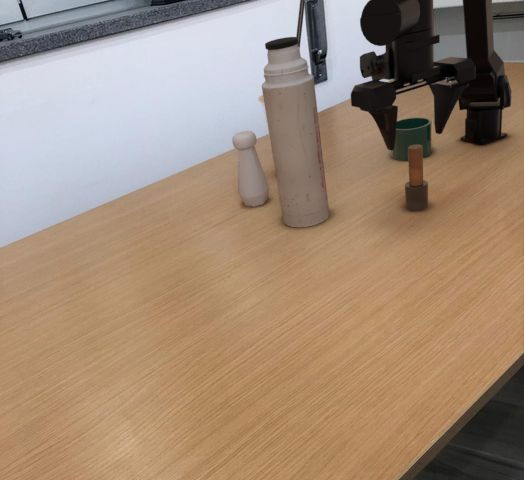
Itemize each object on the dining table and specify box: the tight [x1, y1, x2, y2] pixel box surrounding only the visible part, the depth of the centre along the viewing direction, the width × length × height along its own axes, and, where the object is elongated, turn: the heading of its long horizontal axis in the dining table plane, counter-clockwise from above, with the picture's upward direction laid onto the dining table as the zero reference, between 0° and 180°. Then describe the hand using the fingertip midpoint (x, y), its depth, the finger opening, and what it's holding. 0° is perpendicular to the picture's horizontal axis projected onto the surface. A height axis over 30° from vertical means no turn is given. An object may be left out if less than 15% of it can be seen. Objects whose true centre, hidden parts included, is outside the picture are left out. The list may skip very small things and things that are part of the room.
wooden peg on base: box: [404, 144, 429, 212], centre depth 97 cm, size 4×4×10 cm
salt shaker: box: [231, 130, 270, 208], centre depth 110 cm, size 6×6×13 cm
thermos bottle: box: [261, 36, 330, 228], centre depth 96 cm, size 8×8×28 cm
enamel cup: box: [390, 116, 433, 162], centre depth 119 cm, size 8×8×6 cm
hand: (415, 141), depth 93 cm, fingers open, 9 cm apart
